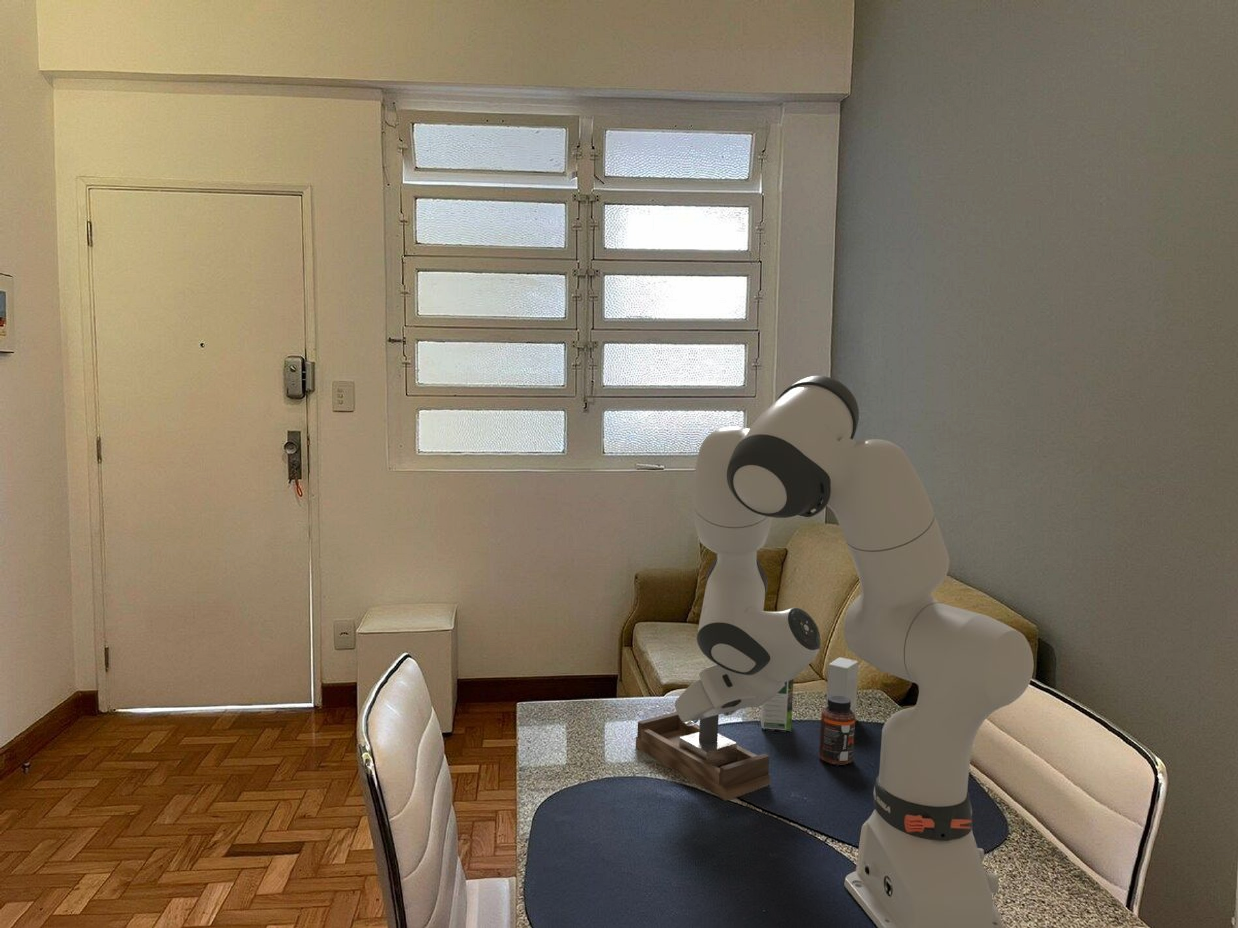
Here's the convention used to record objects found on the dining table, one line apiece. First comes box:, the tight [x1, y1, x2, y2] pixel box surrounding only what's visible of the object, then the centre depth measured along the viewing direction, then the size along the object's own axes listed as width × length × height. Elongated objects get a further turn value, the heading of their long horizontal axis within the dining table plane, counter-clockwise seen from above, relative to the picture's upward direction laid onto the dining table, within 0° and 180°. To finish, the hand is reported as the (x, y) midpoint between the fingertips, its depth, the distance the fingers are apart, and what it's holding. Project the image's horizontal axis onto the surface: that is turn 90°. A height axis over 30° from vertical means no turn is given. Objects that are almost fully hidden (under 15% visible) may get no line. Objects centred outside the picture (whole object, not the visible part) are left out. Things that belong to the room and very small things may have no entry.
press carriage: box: [679, 714, 738, 766], centre depth 148 cm, size 7×7×12 cm
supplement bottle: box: [818, 695, 856, 765], centre depth 154 cm, size 6×6×11 cm
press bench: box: [635, 711, 771, 801], centre depth 150 cm, size 24×10×5 cm, turn 36°
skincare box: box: [825, 656, 859, 717], centre depth 173 cm, size 6×4×12 cm
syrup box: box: [759, 678, 795, 731], centre depth 169 cm, size 6×6×14 cm
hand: (707, 716), depth 148 cm, fingers open, 7 cm apart
